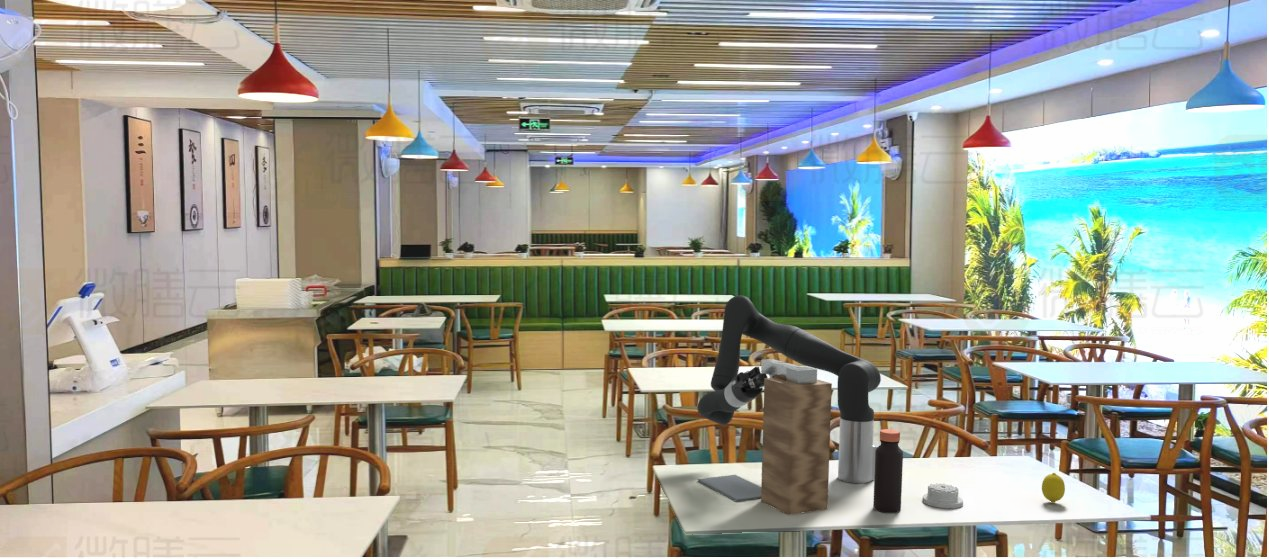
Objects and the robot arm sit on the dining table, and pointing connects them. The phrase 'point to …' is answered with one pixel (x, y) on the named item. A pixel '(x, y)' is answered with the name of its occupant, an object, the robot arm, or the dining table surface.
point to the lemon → (1053, 487)
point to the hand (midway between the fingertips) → (772, 368)
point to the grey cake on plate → (942, 496)
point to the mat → (733, 487)
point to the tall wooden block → (796, 445)
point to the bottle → (888, 473)
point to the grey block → (789, 371)
